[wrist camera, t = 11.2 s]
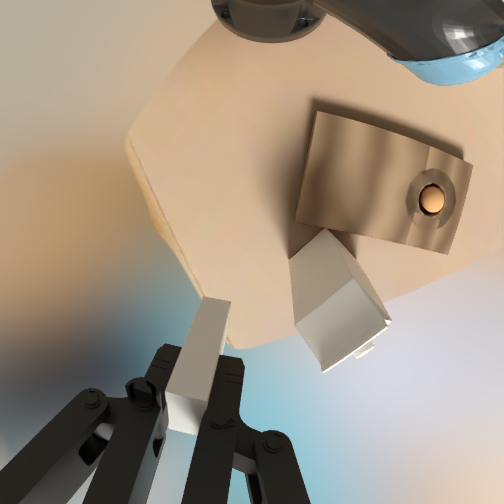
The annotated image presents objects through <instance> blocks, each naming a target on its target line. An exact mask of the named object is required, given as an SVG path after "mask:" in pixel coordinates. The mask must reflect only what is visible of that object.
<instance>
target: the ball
mask: <svg viewBox="0 0 504 504" xmlns="http://www.w3.org/2000/svg"><path fill="white" fill-rule="evenodd" d="M421 203H422V206H423V207H424V208H425V209H426V210H427V211H429V212H438V211H439V210H441V209H442V207H443V205H444V195H443V193H442V192H441V190H440V189H438V188H437V187H433V186H431V187H427V188H426V189H424V191H423V192H422V194H421Z"/></svg>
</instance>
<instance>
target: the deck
mask: <svg viewBox="0 0 504 504" xmlns="http://www.w3.org/2000/svg"><path fill="white" fill-rule="evenodd" d="M472 168H473V165H472V164H470V163H468V162H466V161H463V160H461V159H459V158H457V157H455V156H453V155H450V154H448V153H446V152H443V151H441V150H439V149H436V148H434V147H431V146H429V145H426V144H424V143H421V142H419V141H416V140H413V139H411V138H408V137H405V136H403V135H400V134H397V133H394V132H391V131H388V130H385V129H382V128H379V127H376V126H372V125H369V124H366V123H362V122H359V121H355V120H352V119H348V118H344V117H340V116H336V115H332V114H328V113H324V112H320V111H317V112H315V114H314V119H313V125H312V131H311V136H310V142H309V147H308V152H307V158H306V163H305V168H304V173H303V178H302V183H301V188H300V193H299V198H298V203H297V208H296V213H295V220H296V222H297V223H303V224H308V225H313V226H318V227H324V228H329V229H334V230H339V231H344V232H349V233H353V234H358V235H363V236H368V237H372V238H377V239H382V240H386V241H391V242H395V243H400V244H404V245H408V246H413V247H417V248H421V249H426V250H430V251H434V252H438V253H442V254H446V255H448V253H449V250H450V248H451V245H452V242H453V239H454V236H455V233H456V230H457V226H458V223H459V220H460V216H461V213H462V209H463V206H464V202H465V198H466V194H467V190H468V186H469V182H470V177H471V173H472ZM428 184H433V185H434V187H437V188H438V189H440V190H441V192H442V193H443V195H444V205H443V207H442V209H441V210H439V211H438V212H429V211H426V212H422V211H421V210H420V208H419V202H418V199H419V196H420V192H421V190H422V189H423V188H424V187H425V186H426V185H428Z"/></svg>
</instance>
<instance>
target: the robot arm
mask: <svg viewBox="0 0 504 504" xmlns="http://www.w3.org/2000/svg"><path fill="white" fill-rule="evenodd" d="M211 3H212V7H213V9H214V11H215V13H216V15H217V17H218V19H219V20H220V22H221V23H222V24H223V25H224V26H225V27H226V28H227V29H228V30H230V31H231V32H233V33H234V34H236V35H238V36H240V37H242V38H245V39H248V40H251V41H256V42H262V43H282V42H289V41H293V40H296V39H299V38H301V37H304V36H306V35H308V34H309V33H311V32H312V31H314V30H315V29H316V28H317V27H318V26H319V25H320V24H321V22H322V21H323V19H324V17H325V15H326V13H328V14H329V15H331V16H333V17H335V18H336V19H338V20H340V21H341V22H343V23H344V24H346V25H348V26H349V27H351V28H352V29H354V30H355V31H357V32H358V33H360V34H361V35H363V36H364V37H366V38H367V39H369V40H370V41H372V42H373V43H374V44H376V45H377V46H378V47H380V48H381V49H382V50H384V51H385V52H386V53H387V55H388V56H389V57H390V58H391V59H392V60H394V61H396V62H398V63H401V64H402V65H403V66H405V67H406V68H407V69H409V70H410V71H411V72H412V73H414V74H415V75H416V76H417V77H419V78H420V79H421V80H423V81H425V82H427V83H431V84H435V85H437V86H455V85H460V84H464V83H467V82H470V81H473V80H475V79H478V78H480V77H482V76H484V75H486V74H487V73H489V72H491V71H492V70H494V69H495V68H496V67H498V66H499V65H500V64H501V63H502V58H503V57H504V0H211ZM230 307H231V302H230V301H225V300H220V299H214V298H209V297H204V296H203V298H202V300H201V303H200V305H199V308H198V310H197V312H196V315H195V317H194V320H193V322H192V325H191V327H190V330H189V332H188V334H187V337H186V339H185V342H184V345H183V347H178V346H174V345H170V344H164V345H163V346H162V347H160V348H159V349H158V350H157V352H156V354H155V356H154V359H153V360H152V362H151V365H150V367H149V369H148V371H147V373H146V375H145V377H144V378H143V377H139V378H134V379H132V380H130V381H129V382H128V383H127V384H126V385H125V387H126V391H127V395H128V397H125V398H112V397H106V395H105V394H104V393H103V392H102V391H100V390H98V389H94V388H93V389H92V388H89V389H85V390H83V391H82V392H80V393H79V394H78V395H77V396H76V397H75V398H74V399H73V400H72V401H70V402H69V403H68V404H67V405H66V406H65V407H64V408H63V409H62V410H61V411H60V412H59V413H58V414H57V415H56V416H55V417H54V418H53V419H52V420H51V421H50V422H49V423H48V424H47V425H46V426H45V427H44V428H43V429H42V430H41V431H40V432H39V433H38V434H37V435H36V436H35V437H34V438H33V439H32V440H31V441H30V442H29V443H28V444H27V445H26V446H25V447H24V448H23V449H22V450H21V451H20V452H19V453H18V454H17V455H16V456H15V457H14V458H13V459H12V460H11V461H10V462H9V463H8V464H7V465H6V466H5V467H4V468H3V469H2V470H1V471H0V504H66V503H67V502H68V501H69V500H70V499H71V497H72V496H73V495H74V494H75V493H76V491H77V490H78V489H79V488H80V487H81V485H82V484H83V483H84V482H85V481H86V479H87V478H88V477H89V476H90V475H91V473H92V472H93V471H94V470H95V468H96V467H97V466H98V467H97V469H96V471H95V474H94V476H93V479H92V481H91V483H90V486H89V488H88V491H87V493H86V496H85V498H84V501H83V503H82V504H146V502H147V499H148V495H149V492H150V489H151V485H152V482H153V479H154V476H155V472H156V469H157V465H158V463H159V459H160V456H161V453H162V450H163V446H164V443H165V440H166V433H165V432H166V429H167V426H169V429H173V430H177V431H181V432H185V433H189V434H194V435H198V436H197V440H196V444H195V448H194V453H193V456H192V461H191V464H190V469H189V473H188V477H187V481H186V485H185V490H184V494H183V498H182V502H181V504H227V500H228V493H229V486H230V479H231V472H232V468H234V469H236V470H238V471H241V472H243V473H245V477H246V482H247V488H248V493H249V498H250V503H251V504H311V503H310V500H309V497H308V494H307V491H306V488H305V485H304V481H303V478H302V475H301V472H300V469H299V465H298V463H297V459H296V456H295V453H294V449H293V446H292V443H291V441H290V439H289V438H288V437H287V436H286V435H285V434H284V433H282V432H279V431H275V430H268V431H264V432H260V431H257V430H255V429H252V428H250V427H249V426H247V425H246V424H245V423H244V422H243V421H242V419H241V418H240V415H239V408H240V400H241V393H242V385H243V377H244V370H245V366H244V364H243V361H242V359H241V358H236V357H230V356H225V355H222V354H223V350H224V345H225V341H226V335H227V328H228V321H229V314H230Z"/></svg>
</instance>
